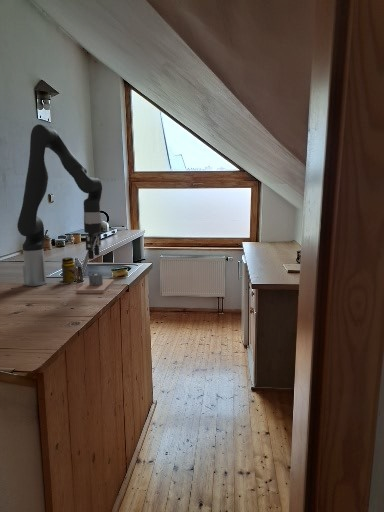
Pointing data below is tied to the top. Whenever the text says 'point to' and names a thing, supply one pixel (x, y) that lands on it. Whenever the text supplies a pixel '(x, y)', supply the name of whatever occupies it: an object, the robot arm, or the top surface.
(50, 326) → the top surface
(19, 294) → the top surface
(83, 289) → the shaft stand
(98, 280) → the hub
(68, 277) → the condiment
